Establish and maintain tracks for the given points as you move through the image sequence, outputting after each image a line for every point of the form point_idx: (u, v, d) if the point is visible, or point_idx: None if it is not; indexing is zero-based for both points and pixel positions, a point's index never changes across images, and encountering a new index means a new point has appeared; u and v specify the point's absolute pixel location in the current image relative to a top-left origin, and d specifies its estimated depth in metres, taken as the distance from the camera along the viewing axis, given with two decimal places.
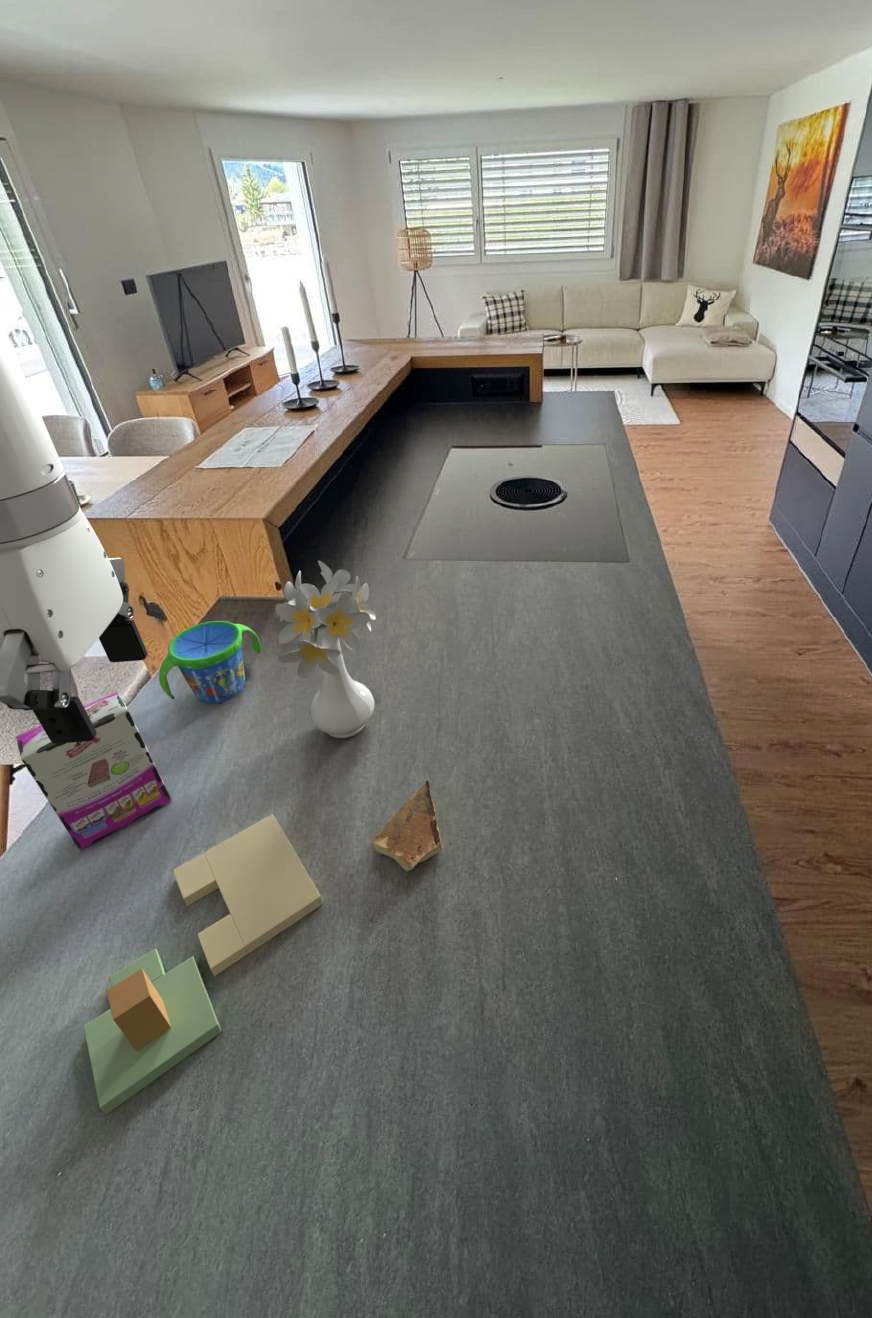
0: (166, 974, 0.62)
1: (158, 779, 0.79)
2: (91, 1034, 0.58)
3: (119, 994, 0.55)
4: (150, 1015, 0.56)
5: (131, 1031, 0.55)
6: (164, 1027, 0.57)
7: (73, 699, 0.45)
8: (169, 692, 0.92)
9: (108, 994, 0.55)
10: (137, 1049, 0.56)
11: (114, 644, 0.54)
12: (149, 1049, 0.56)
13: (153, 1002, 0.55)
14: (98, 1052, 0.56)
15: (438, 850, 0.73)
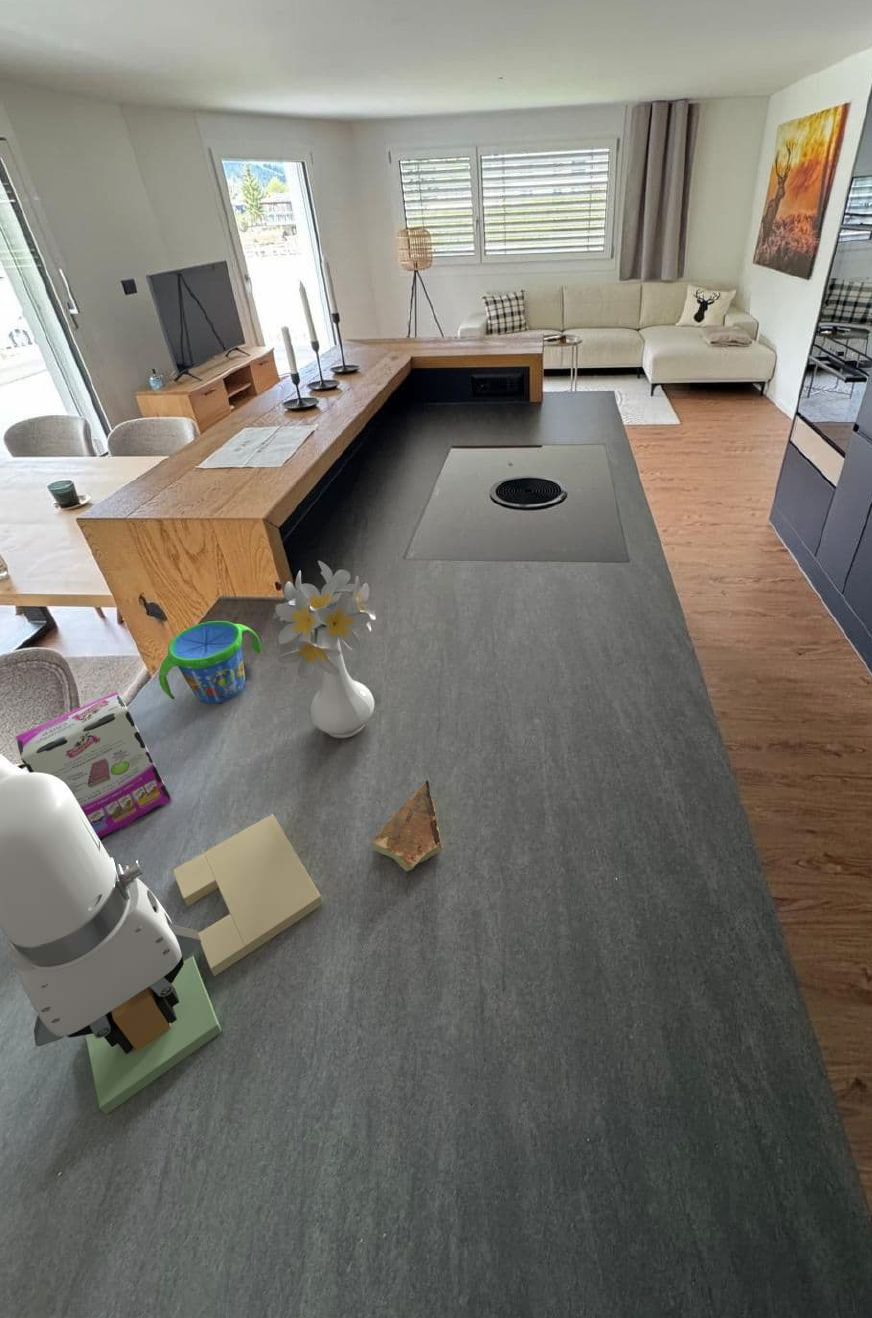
0: None
1: (158, 779, 0.79)
2: (91, 1034, 0.58)
3: None
4: (150, 1015, 0.56)
5: (131, 1031, 0.55)
6: (164, 1027, 0.57)
7: (113, 1031, 0.54)
8: (169, 692, 0.92)
9: None
10: (137, 1049, 0.56)
11: None
12: (149, 1049, 0.56)
13: (153, 1002, 0.55)
14: (98, 1052, 0.56)
15: (438, 850, 0.73)
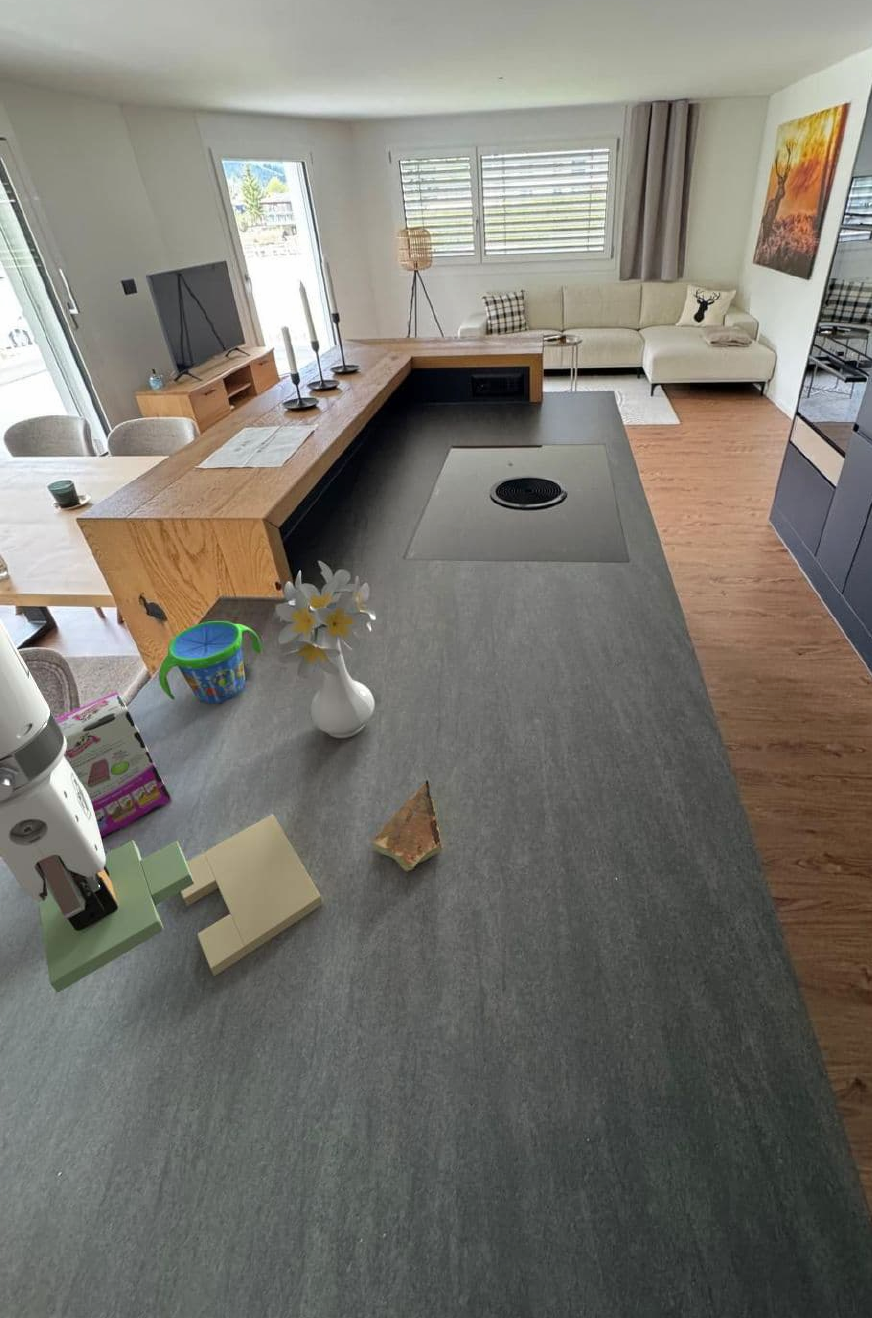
0: (148, 899, 0.54)
1: (158, 779, 0.79)
2: (119, 850, 0.58)
3: None
4: None
5: None
6: None
7: None
8: (169, 692, 0.92)
9: None
10: None
11: None
12: None
13: None
14: None
15: (438, 850, 0.73)
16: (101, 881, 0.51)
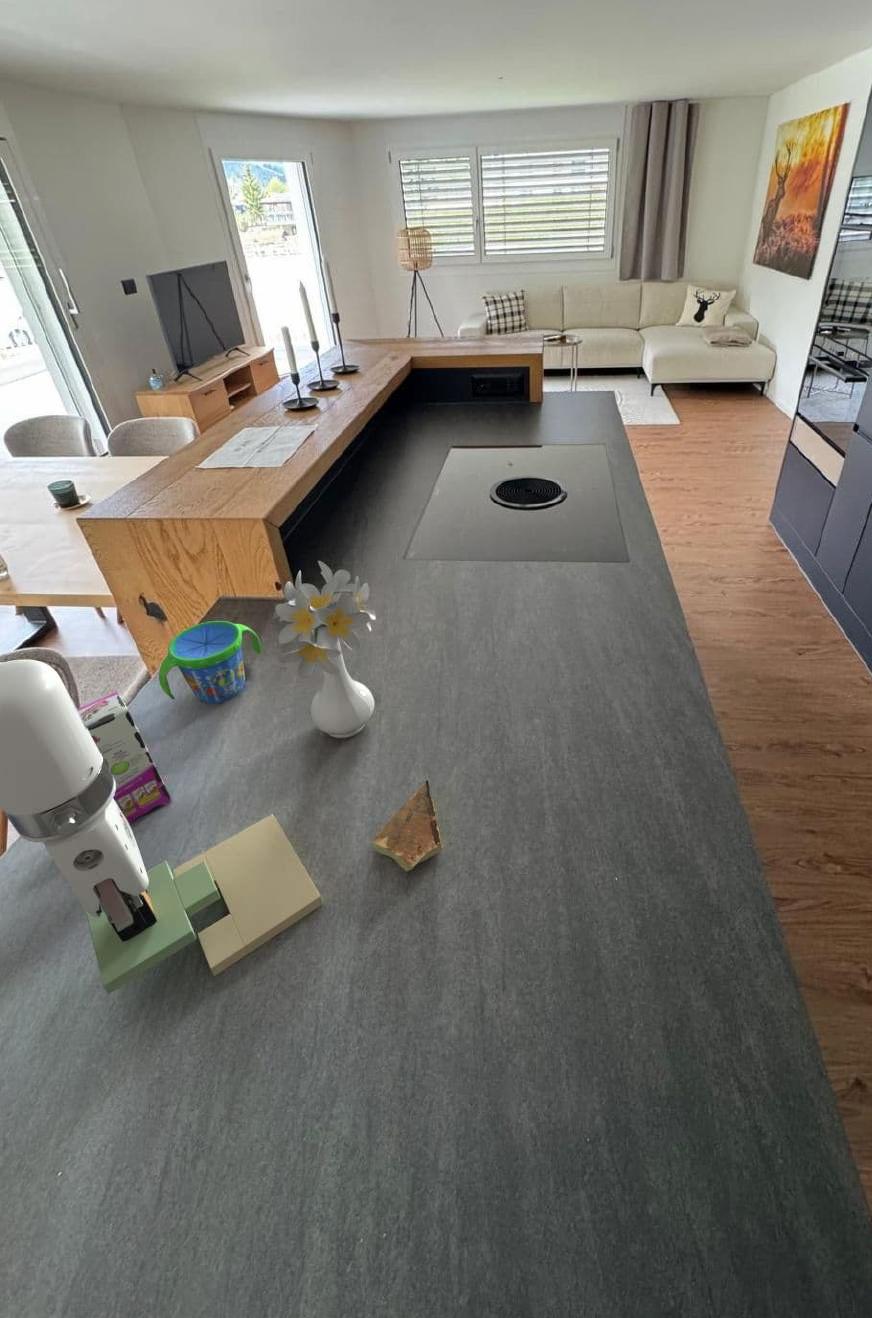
0: (182, 912, 0.63)
1: (158, 779, 0.79)
2: (154, 870, 0.67)
3: None
4: None
5: None
6: None
7: None
8: (169, 692, 0.92)
9: None
10: None
11: None
12: None
13: None
14: None
15: (438, 850, 0.73)
16: (143, 898, 0.60)
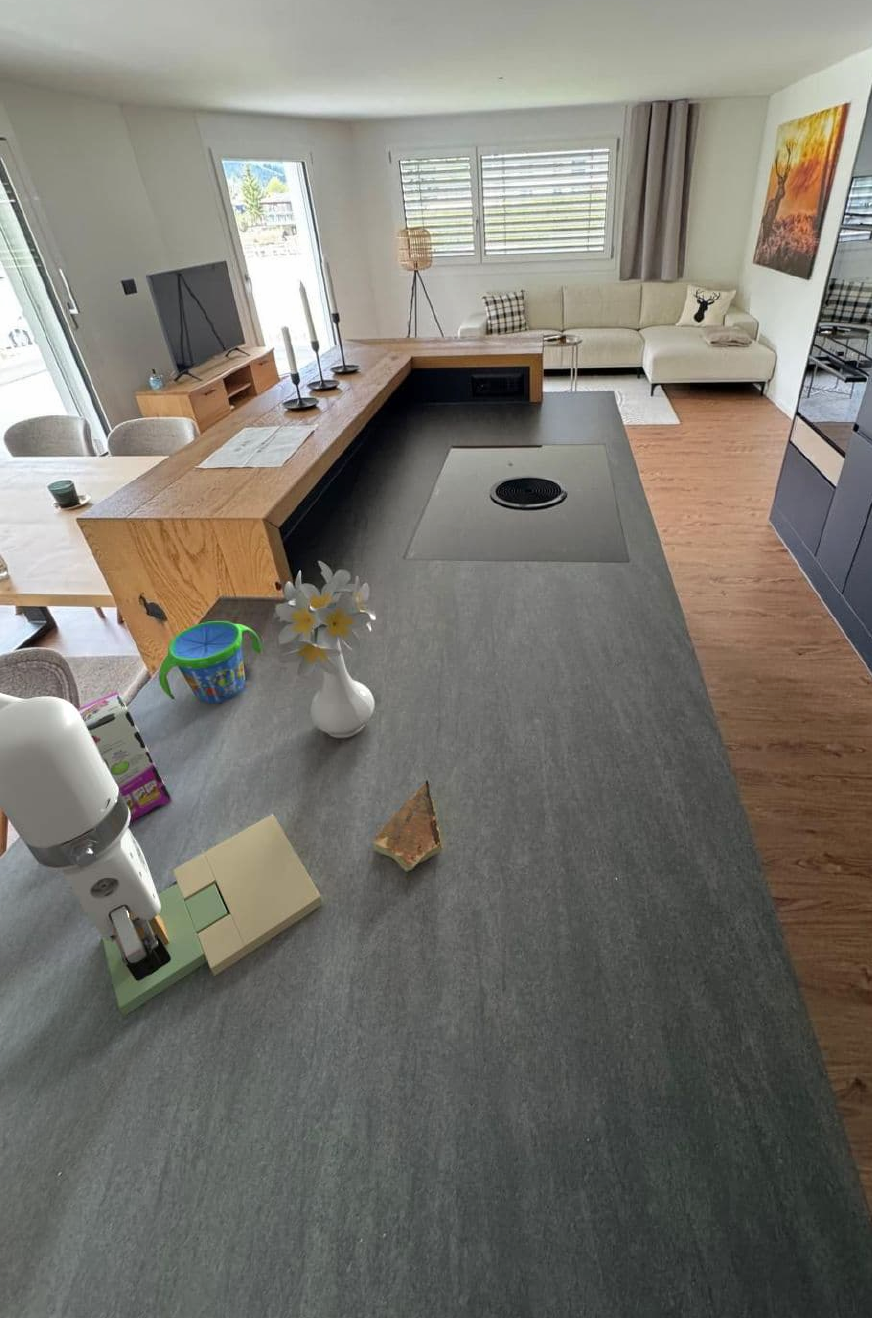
0: (194, 935, 0.65)
1: (158, 779, 0.79)
2: (166, 893, 0.69)
3: None
4: None
5: None
6: None
7: None
8: (169, 692, 0.92)
9: None
10: None
11: None
12: None
13: None
14: None
15: (438, 850, 0.73)
16: (158, 938, 0.59)
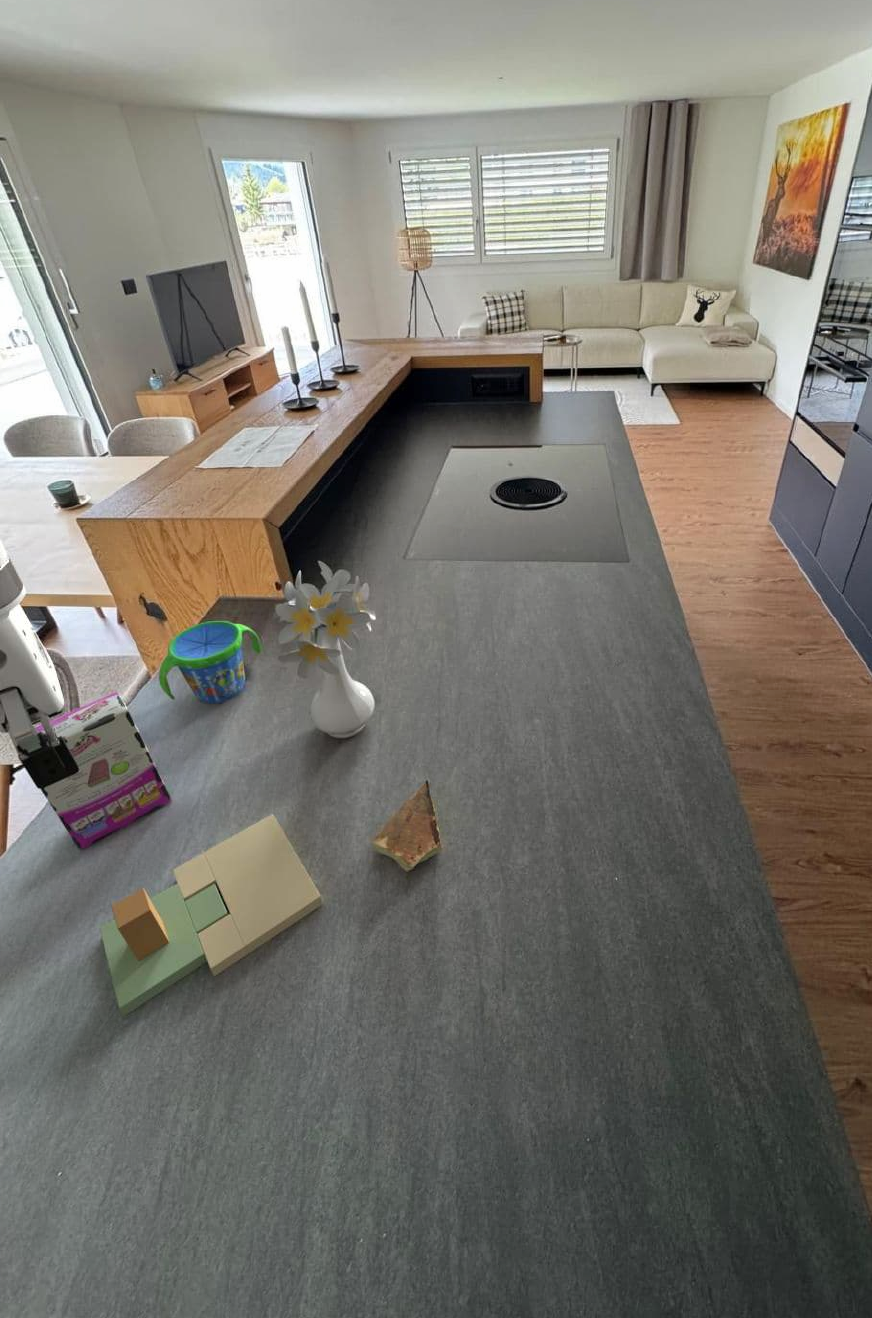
0: (194, 935, 0.65)
1: (158, 779, 0.79)
2: (166, 893, 0.69)
3: (133, 900, 0.62)
4: None
5: None
6: (135, 954, 0.63)
7: None
8: (169, 692, 0.92)
9: (138, 891, 0.63)
10: None
11: None
12: (127, 948, 0.64)
13: (121, 934, 0.61)
14: None
15: (438, 849, 0.73)
16: (61, 739, 0.53)
